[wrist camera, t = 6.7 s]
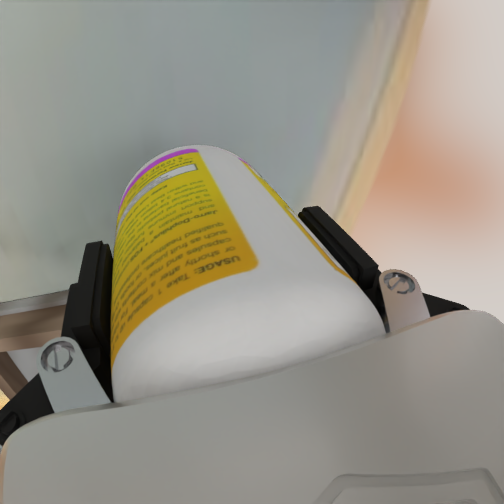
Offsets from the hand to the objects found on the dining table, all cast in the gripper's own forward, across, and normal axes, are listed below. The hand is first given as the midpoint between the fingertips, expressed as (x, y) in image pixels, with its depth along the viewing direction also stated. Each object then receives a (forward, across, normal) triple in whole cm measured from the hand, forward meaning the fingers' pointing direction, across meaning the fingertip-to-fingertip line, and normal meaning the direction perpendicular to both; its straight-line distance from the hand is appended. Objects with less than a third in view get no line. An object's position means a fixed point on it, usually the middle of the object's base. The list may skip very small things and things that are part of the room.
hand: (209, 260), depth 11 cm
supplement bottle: (+4, 0, 0) cm, 4 cm away
